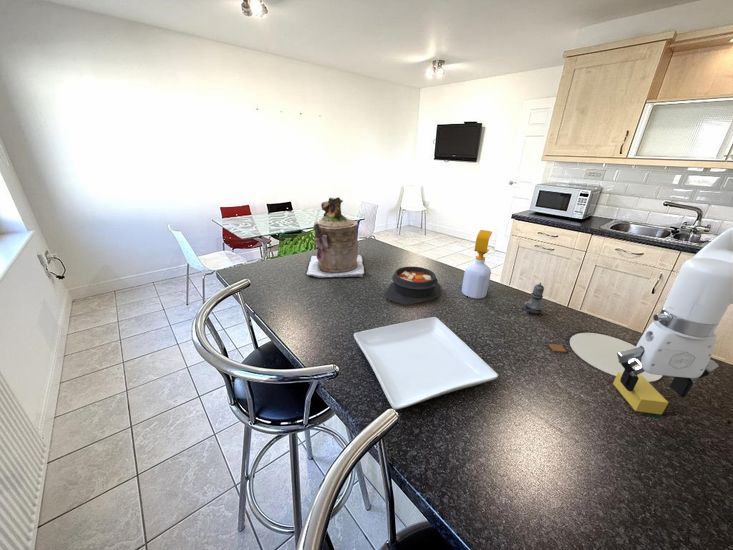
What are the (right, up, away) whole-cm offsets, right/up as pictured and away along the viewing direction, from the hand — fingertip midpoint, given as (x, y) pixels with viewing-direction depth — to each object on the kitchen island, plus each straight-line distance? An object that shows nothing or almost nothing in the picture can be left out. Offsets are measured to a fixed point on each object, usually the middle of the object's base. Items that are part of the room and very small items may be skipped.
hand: (651, 389), depth 63 cm
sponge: (-1, -4, +3) cm, 5 cm away
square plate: (-48, +2, +13) cm, 50 cm away
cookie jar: (-75, +28, +71) cm, 107 cm away
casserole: (-44, +17, +49) cm, 67 cm away
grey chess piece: (-5, +11, +37) cm, 39 cm away
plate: (+5, +2, +17) cm, 17 cm away
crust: (-9, +3, +18) cm, 21 cm away
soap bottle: (-20, +17, +50) cm, 56 cm away
